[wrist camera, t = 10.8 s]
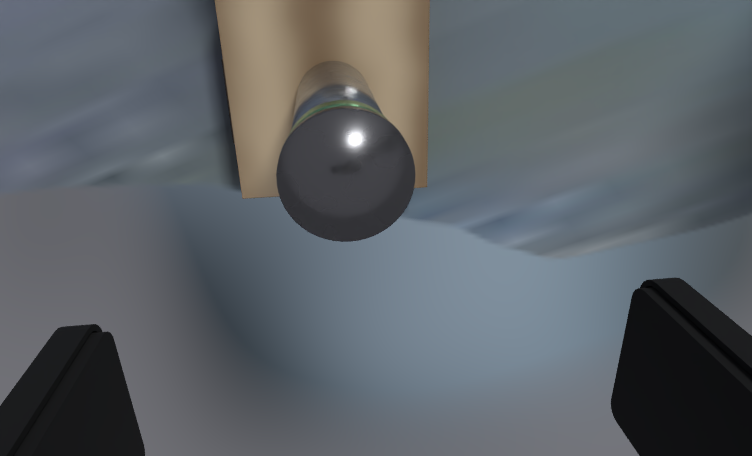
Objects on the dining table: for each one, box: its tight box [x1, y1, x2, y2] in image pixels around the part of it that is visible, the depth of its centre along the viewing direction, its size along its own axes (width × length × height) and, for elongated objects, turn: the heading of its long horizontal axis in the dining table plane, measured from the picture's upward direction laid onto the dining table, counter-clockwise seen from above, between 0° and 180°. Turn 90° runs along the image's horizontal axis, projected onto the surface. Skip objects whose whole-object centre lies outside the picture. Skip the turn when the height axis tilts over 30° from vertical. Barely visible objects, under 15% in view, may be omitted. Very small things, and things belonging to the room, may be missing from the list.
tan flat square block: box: [215, 0, 430, 199], centre depth 34 cm, size 12×12×3 cm
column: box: [276, 61, 415, 242], centre depth 26 cm, size 5×5×15 cm
